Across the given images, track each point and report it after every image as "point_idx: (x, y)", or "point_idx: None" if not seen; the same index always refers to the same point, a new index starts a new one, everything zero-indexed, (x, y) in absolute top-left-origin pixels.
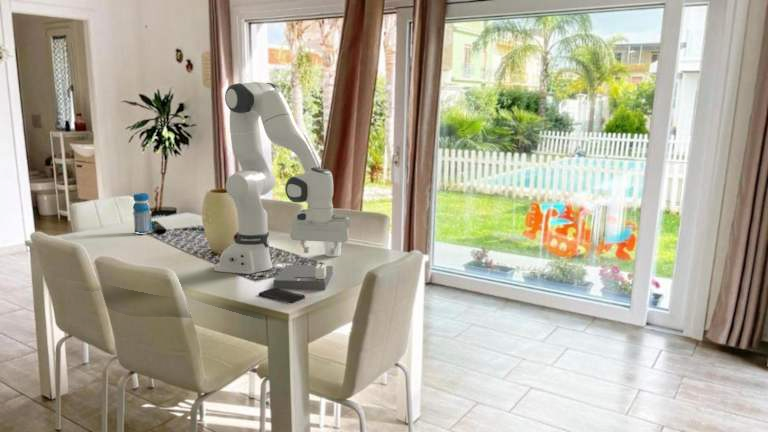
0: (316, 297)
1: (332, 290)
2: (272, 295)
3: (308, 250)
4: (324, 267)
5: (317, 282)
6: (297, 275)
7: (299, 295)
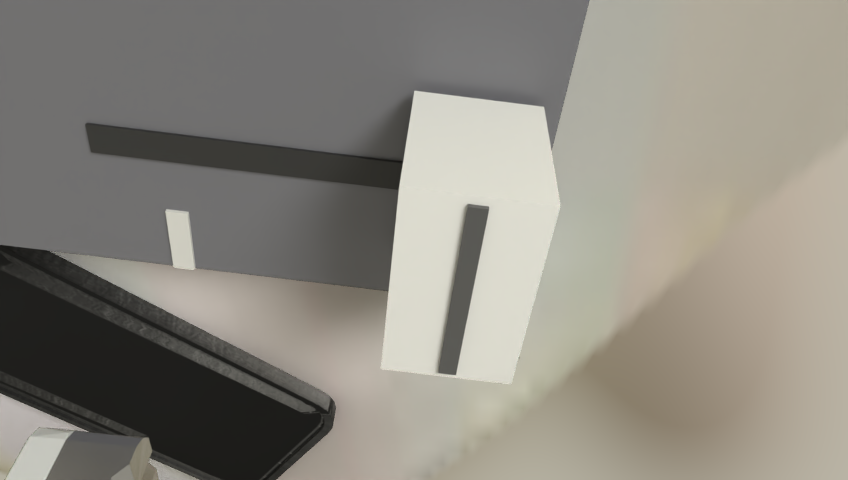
0: (430, 404)
1: (585, 265)
2: (59, 388)
3: (134, 475)
4: (518, 356)
5: None
6: (96, 51)
7: (285, 402)
